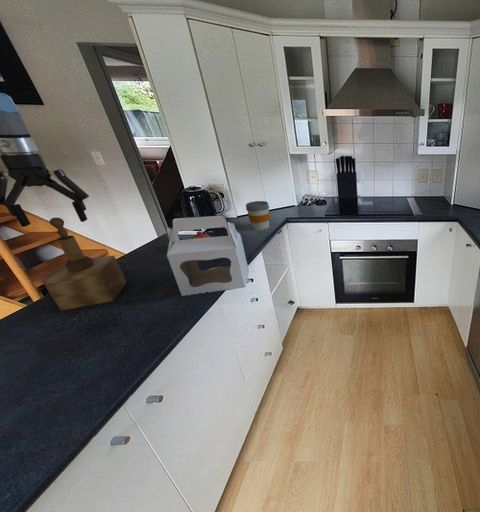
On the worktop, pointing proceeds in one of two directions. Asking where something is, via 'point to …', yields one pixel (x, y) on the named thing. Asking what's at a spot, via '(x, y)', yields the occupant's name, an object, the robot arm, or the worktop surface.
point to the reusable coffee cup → (258, 214)
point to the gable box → (206, 256)
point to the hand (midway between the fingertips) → (56, 223)
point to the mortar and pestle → (71, 248)
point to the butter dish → (200, 235)
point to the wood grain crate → (86, 284)
